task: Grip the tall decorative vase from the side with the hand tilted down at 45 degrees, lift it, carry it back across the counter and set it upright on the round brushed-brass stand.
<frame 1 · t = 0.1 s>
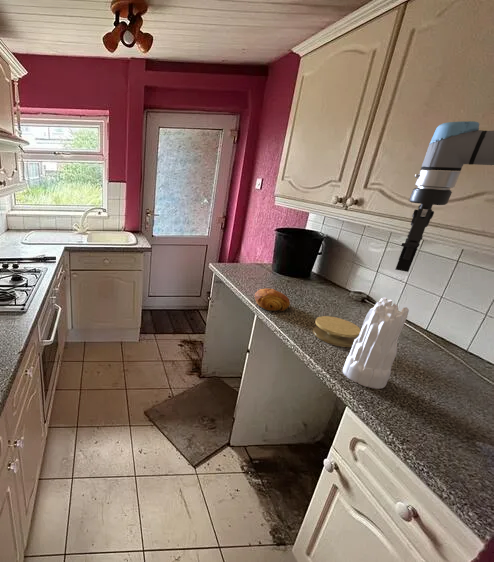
hand: (403, 265, 89), 34 cm above the countertop, tool pointing down, fingers open, 13 cm apart
decorative vase: (363, 377, 95), on the countertop
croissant: (270, 305, 141), on the countertop
stand: (333, 336, 116), on the countertop
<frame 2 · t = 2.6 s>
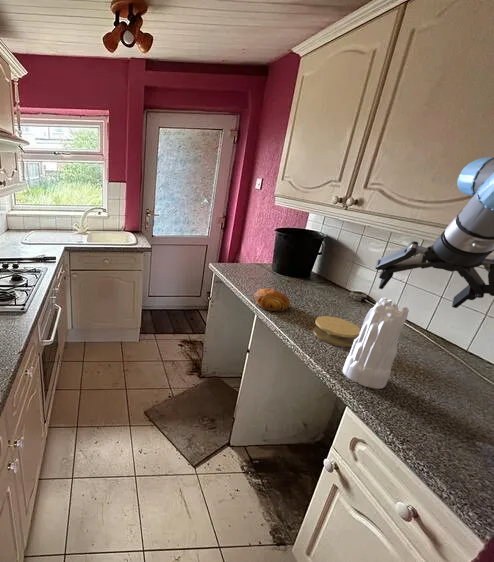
hand: (416, 293, 75), 32 cm above the countertop, tool tilted 40°, fingers open, 13 cm apart
nothing on the countertop moved.
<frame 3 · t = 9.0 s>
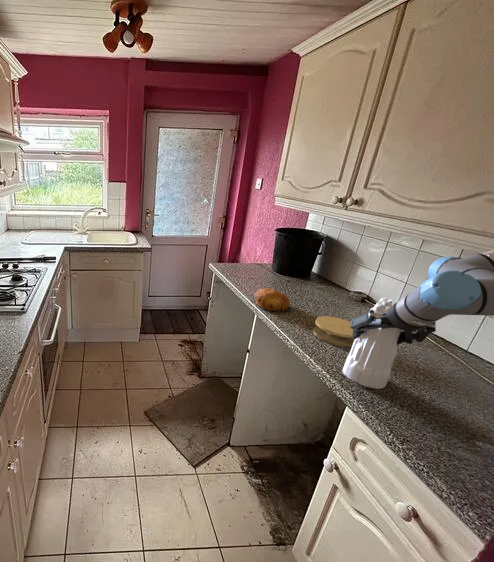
hand: (372, 338, 93), 12 cm above the countertop, tool tilted 45°, fingers closed on decorative vase, 9 cm apart
decorative vase: (363, 377, 95), on the countertop, touching gripper
everything else where it was.
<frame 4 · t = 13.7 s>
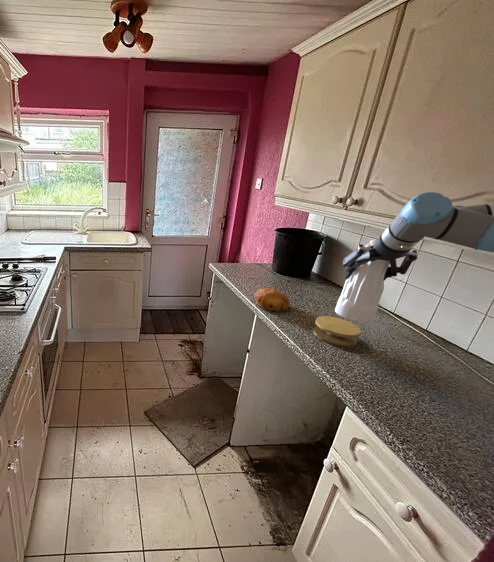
hand: (362, 277, 103), 26 cm above the countertop, tool tilted 45°, fingers closed on decorative vase, 8 cm apart
decorative vase: (353, 315, 104), point 13 cm above the countertop, touching gripper
everything else where it was.
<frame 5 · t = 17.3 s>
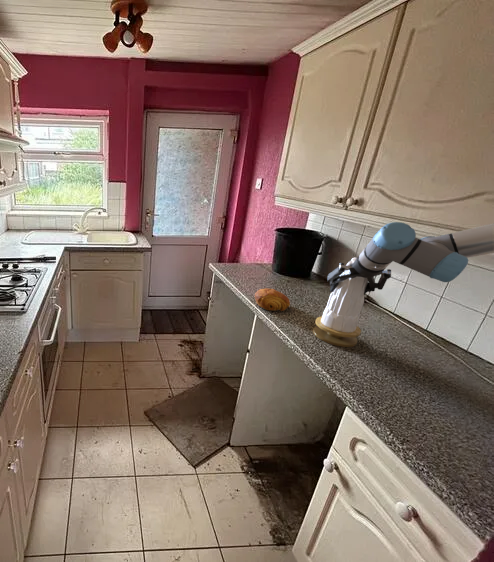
hand: (346, 290, 113), 17 cm above the countertop, tool tilted 45°, fingers closed on decorative vase, 8 cm apart
decorative vase: (337, 325, 115), point 5 cm above the countertop, touching gripper, stand
everything else where it was.
when the fingers open (17 cm above the countertop, at t = 17.5 s): decorative vase stays where it is, resting on stand.
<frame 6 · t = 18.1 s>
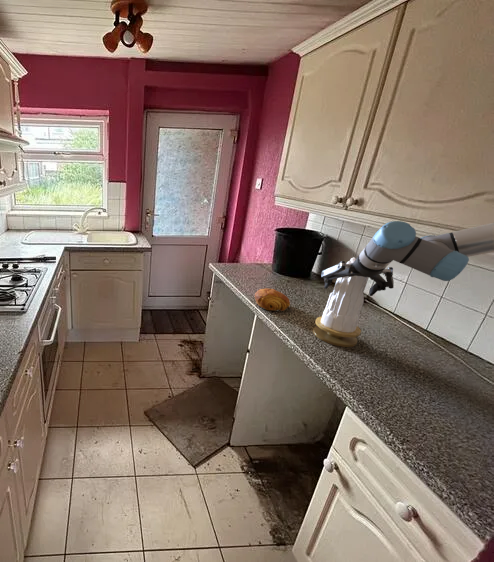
hand: (347, 288, 112), 19 cm above the countertop, tool tilted 45°, fingers open, 13 cm apart
decorative vase: (337, 325, 115), point 5 cm above the countertop, touching stand
everything else where it was.
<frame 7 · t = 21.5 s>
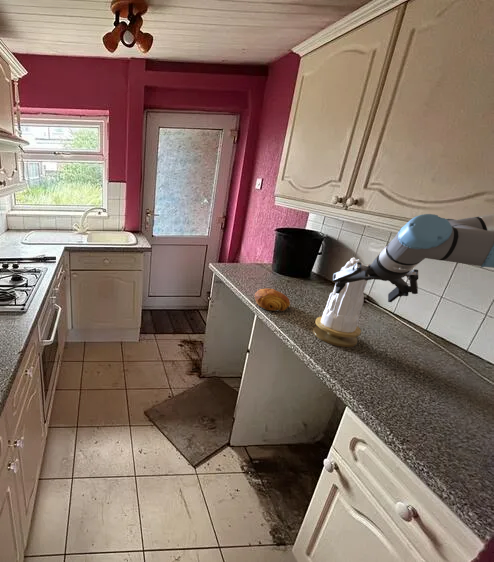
hand: (362, 293, 98), 22 cm above the countertop, tool tilted 45°, fingers open, 13 cm apart
nothing on the countertop moved.
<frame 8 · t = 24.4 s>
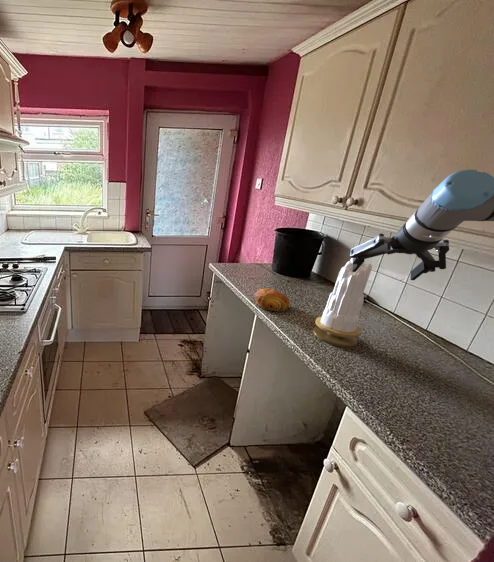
hand: (382, 271, 89), 32 cm above the countertop, tool tilted 45°, fingers open, 13 cm apart
nothing on the countertop moved.
at the end: decorative vase 0.1 cm off-centre on the stand, point 4.8 cm above the stand's base; decorative vase tilted 0°; the gripper is holding nothing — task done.
